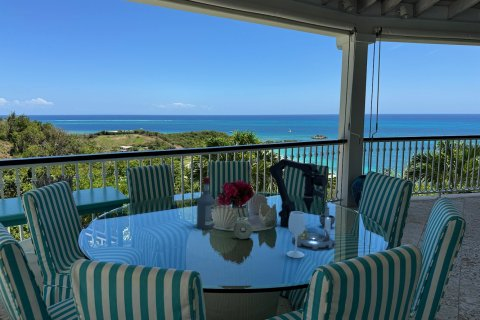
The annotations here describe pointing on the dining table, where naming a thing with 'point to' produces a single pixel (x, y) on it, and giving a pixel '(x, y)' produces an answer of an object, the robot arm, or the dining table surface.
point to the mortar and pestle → (322, 217)
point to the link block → (303, 234)
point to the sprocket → (317, 238)
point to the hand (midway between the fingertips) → (308, 210)
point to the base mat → (315, 249)
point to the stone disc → (243, 234)
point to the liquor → (205, 208)
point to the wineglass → (296, 230)
